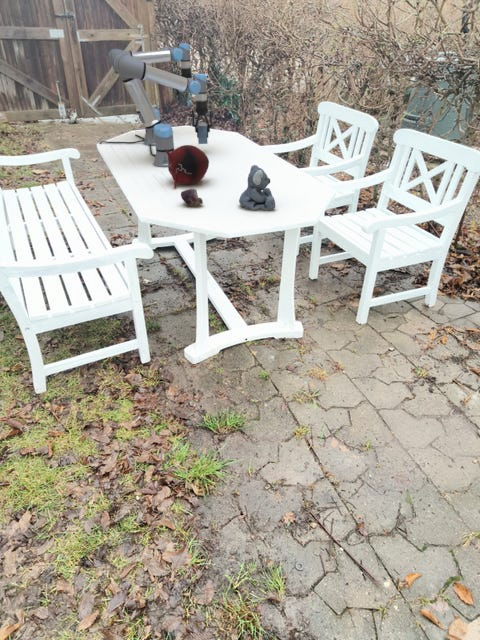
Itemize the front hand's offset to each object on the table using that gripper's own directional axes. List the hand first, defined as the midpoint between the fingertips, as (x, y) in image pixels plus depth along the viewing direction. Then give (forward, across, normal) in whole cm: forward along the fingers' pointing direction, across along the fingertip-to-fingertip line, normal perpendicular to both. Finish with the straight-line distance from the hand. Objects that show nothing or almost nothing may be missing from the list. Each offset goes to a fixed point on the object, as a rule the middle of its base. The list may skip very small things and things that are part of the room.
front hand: (202, 137), depth 309 cm
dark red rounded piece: (+11, +9, +64) cm, 65 cm away
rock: (+11, +7, +102) cm, 103 cm away
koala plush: (+11, -26, +106) cm, 110 cm away
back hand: (-16, +11, -56) cm, 60 cm away
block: (+3, 0, 0) cm, 3 cm away
